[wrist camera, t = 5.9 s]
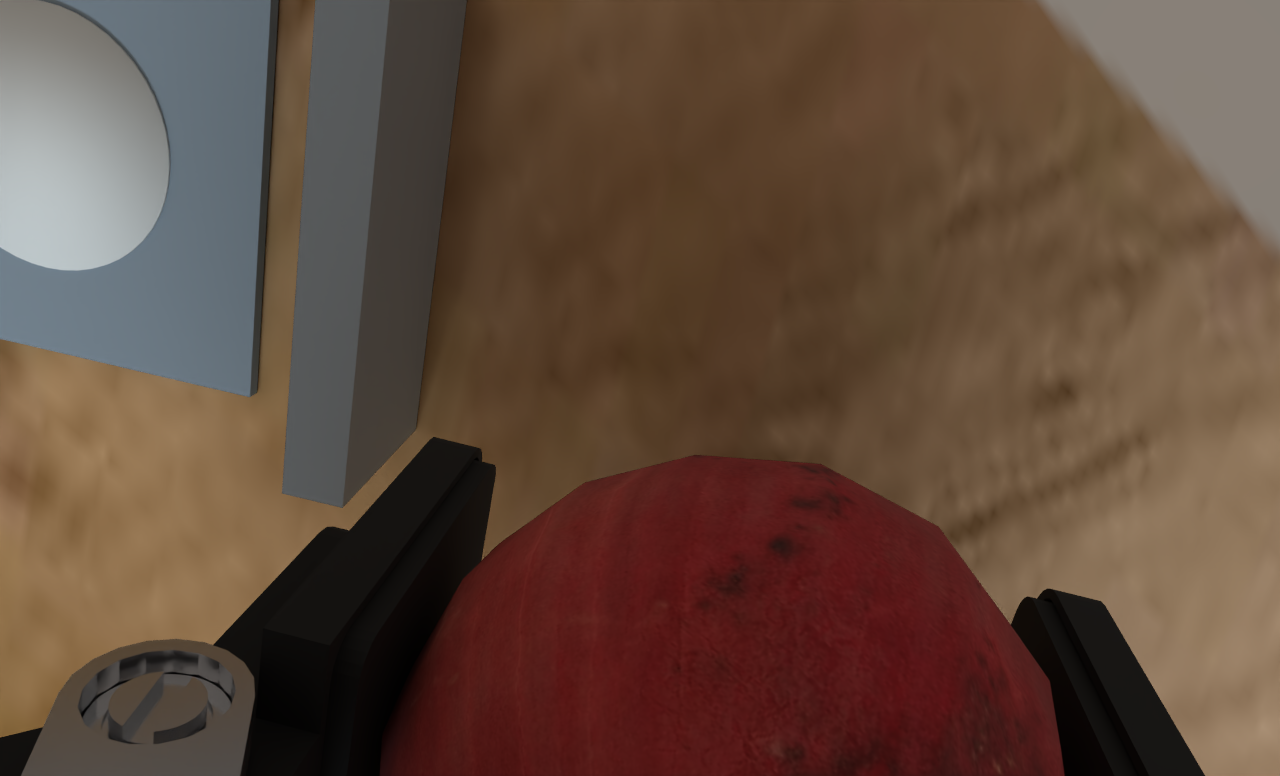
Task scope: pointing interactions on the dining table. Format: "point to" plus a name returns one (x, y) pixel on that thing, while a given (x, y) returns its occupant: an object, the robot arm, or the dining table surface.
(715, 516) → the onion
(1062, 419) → the dining table surface
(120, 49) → the mat
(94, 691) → the robot arm
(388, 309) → the low wall
